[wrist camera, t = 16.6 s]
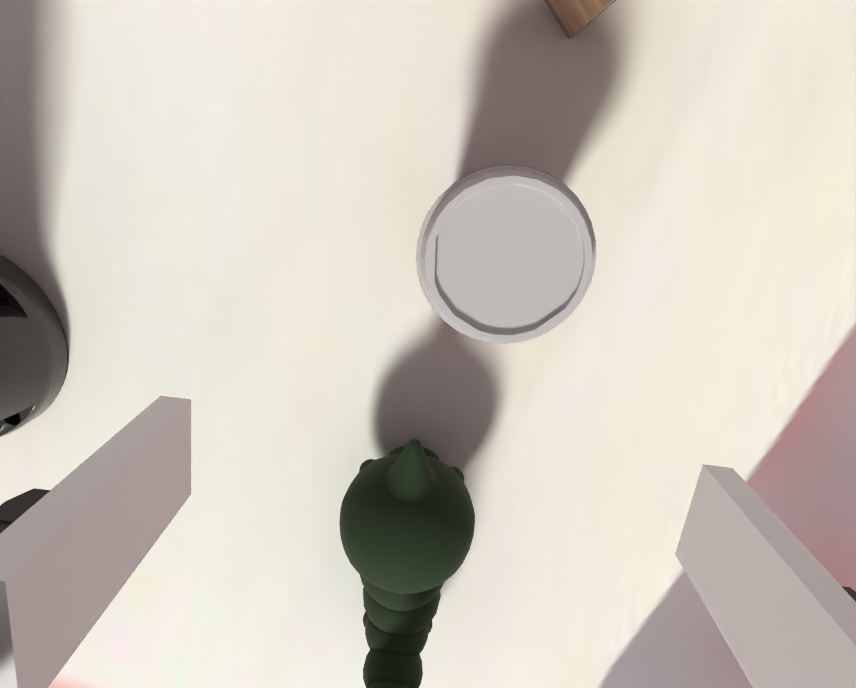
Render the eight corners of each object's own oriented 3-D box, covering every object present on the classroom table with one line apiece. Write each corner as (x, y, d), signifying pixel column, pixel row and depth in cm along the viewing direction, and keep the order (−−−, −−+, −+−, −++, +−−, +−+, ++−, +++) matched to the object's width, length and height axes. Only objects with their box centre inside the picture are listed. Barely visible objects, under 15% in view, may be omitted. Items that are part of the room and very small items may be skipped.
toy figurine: (448, 626, 54) (482, 386, 45) (448, 878, 37) (504, 574, 27) (346, 617, 54) (358, 374, 44) (298, 864, 37) (300, 555, 27)
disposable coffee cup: (470, 134, 40) (480, 126, 28) (585, 211, 41) (640, 232, 30) (397, 254, 42) (381, 291, 31) (508, 323, 44) (531, 382, 32)
